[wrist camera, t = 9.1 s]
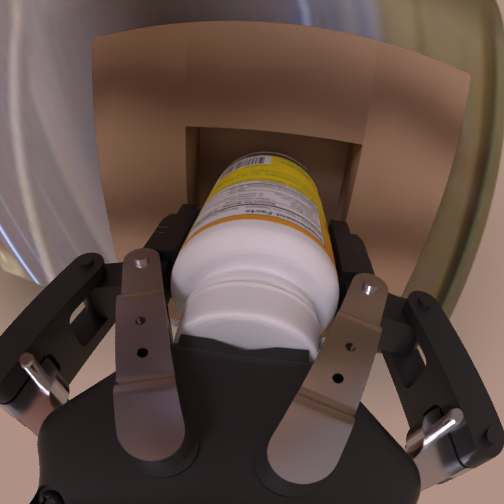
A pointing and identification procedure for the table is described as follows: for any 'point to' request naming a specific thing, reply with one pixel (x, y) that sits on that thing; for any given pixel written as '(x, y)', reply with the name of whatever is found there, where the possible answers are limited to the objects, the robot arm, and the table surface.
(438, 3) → the table surface
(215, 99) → the walnut socket block
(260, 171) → the supplement bottle
